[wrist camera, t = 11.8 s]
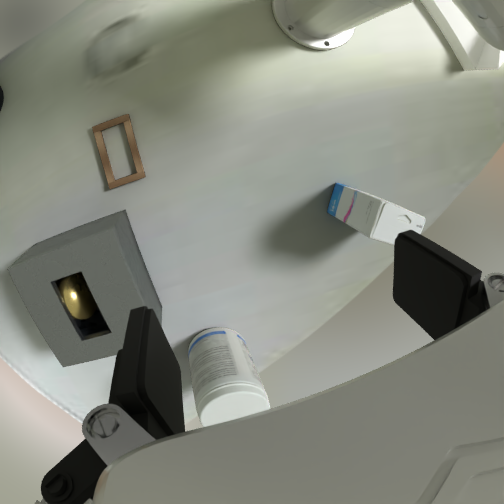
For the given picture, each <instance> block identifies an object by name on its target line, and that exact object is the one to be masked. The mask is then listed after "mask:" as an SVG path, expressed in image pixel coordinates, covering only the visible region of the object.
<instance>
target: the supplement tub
mask: <svg viewBox="0 0 504 504" xmlns="http://www.w3.org/2000/svg"><path fill="white" fill-rule="evenodd" d="M188 358H189V365H190V373H191V379H192V386H193V392H194V398H195V404H196V410H197V413H198V416H199V419H200V422H201V424H202V426H203V427H206V426H210V425H214V424H218V423H222V422H226V421H230V420H234V419H237V418H241V417H244V416H248V415H251V414H255V413H258V412H262V411H265V410H268V409H270V404H269V401H268V397H267V394H266V392H265V389H264V386H263V384H262V382H261V379H260V377H259V374H258V372H257V370H256V367H255V365H254V362H253V360H252V357H251V355H250V352H249V350H248V347H247V345H246V342H245V340H244V339H243V337H242V336H241V335H240V334H239V333H238V332H236V331H234V330H232V329H229V328H223V327H218V328H211V329H207V330H204V331H202V332H201V333H199V334H198V335H197V336H195V338H194V339H193V340H192V341H191V343H190V345H189V349H188Z"/></svg>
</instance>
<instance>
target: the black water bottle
mask: <svg viewBox="0 0 504 504" xmlns="http://www.w3.org/2000/svg"><path fill="white" fill-rule="evenodd" d="M3 99H4V97H3V90H2V88H1V86H0V111H1V108H2V105H3Z"/></svg>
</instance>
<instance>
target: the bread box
mask: <svg viewBox="0 0 504 504" xmlns="http://www.w3.org/2000/svg"><path fill="white" fill-rule="evenodd" d="M420 1H421V3H422V4H423V5H424V7H425V8H426V9H427V11H428V12H429V14H430V15H431V17H432V18H433V20H434V21H435V23H436V24H437V26H438V27H439V29H440V30H441V32H442V33H443V35H444V36H445V38H446V40H447V41H448V43H449V45H450V46H451V48H452V50H453V51H454V53H455V55H456V57H457V59H458V60H459V62H460V64H461V66H462V68H463V70H464V71H469V70H494V69H499V68H500V66H501V65H502V63H503V62H504V51H502V50H499V49H496V48H494V47H493V46H491V45H490V44H488V43H487V42H486V41H485V40H484V39H483V38H482V37H481V36H480V35H479V34H478V32H477V31H476V30H475V29H474V28H473V26H472V25H471V24H470V22H469V21H468V20H467V18H466V17H465V16H464V15H463V13H462V12H461V11H460V10H459V9H458V7H457V6H456V5H455V4H454V3H453V2H452V0H420Z"/></svg>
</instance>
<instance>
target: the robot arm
mask: <svg viewBox="0 0 504 504" xmlns="http://www.w3.org/2000/svg"><path fill="white" fill-rule="evenodd" d="M412 1H414V0H273V1H272V11H273V14H274V17H275V19H276V21H277V23H278V25H279V26H280V28H281V29H282V30H283V31H284V32H285V33H286V34H287V35H288V36H289V37H290V38H291V39H293V40H294V41H296V42H297V43H299V44H301V45H303V46H306V47H309V48H312V49H317V50H330V49H334V48H337V47H339V46H341V45H343V44H345V43H346V42H347V41H348V40H349V39H350V38H351V36H352V35H353V33H354V30H355V27H356V26H358V25H360V24H363V23H365V22H367V21H369V20H371V19H374V18H376V17H378V16H380V15H383V14H385V13H387V12H390V11H392V10H395V9H397V8H399V7H402V6H404V5H407V4H409V3H411V2H412ZM452 2H453V3H454V4H455V5H456V6H457V7H458V9H459V10H460V11H461V12H462V13H463V15H464V16H465V17H466V18H467V20H468V21H469V22H470V24H471V25H472V26H473V28H474V29H475V30H476V31H477V32H478V34H479V35H480V36H481V37H482V38H483V39H484V40H485V41H486V42H487V43H488V44H490V45H491V46H493V47H494V48H496V49H499V50H502V51H504V0H452ZM288 28H289V29H290V30H289V29H288ZM324 44H325V45H324ZM481 273H482V271H480V270H479V269H477V268H476V267H474V266H473V265H471V264H469V263H468V262H466V261H465V260H463V259H461V258H459V257H458V256H456V255H455V254H453V253H451V252H450V251H448V250H446V249H445V248H443V247H441V246H440V245H438V244H436V243H435V242H433V241H431V240H429V239H428V238H426V237H424V236H422V235H421V234H419V233H417V232H415V231H413V230H407V231H404V232H401V233H399V234H398V235H397V238H396V239H395V242H394V280H393V299H394V301H395V303H396V304H397V305H398V306H400V307H401V308H402V309H403V310H404V311H405V312H406V313H407V314H408V315H409V316H410V317H411V318H412V319H413V320H414V321H415V322H416V323H417V324H419V325H420V326H421V327H422V328H423V329H424V330H425V331H426V332H427V333H428V334H429V335H430V336H431V337H432V338H433V339H434V341H433V342H431V343H429V344H427V345H425V346H423V347H421V348H420V349H417V350H415V351H414V352H411V353H409V354H408V355H405V356H403V357H401V358H399V359H397V360H395V361H393V362H391V363H389V364H386V365H384V366H382V367H380V368H378V369H376V370H373V371H371V372H369V373H366V374H364V375H362V376H360V377H357V378H355V379H352V380H350V381H347V382H345V383H342V384H340V385H337V386H335V387H332V388H329V389H327V390H324V391H322V392H319V393H317V394H313V395H311V396H308V397H305V398H302V399H299V400H296V401H293V402H290V403H287V404H285V405H281V406H278V407H275V408H272V409H268V410H265V411H262V412H258V413H255V414H251V415H248V416H244V417H241V418H237V419H234V420H230V421H226V422H222V423H218V424H214V425H210V426H206V427H202V428H198V429H195V430H191V431H187V432H185V424H184V413H183V400H182V385H181V371H180V366H179V364H178V361H177V359H176V357H175V355H174V353H173V351H172V349H171V347H170V345H169V342H168V340H167V338H166V336H165V334H164V332H163V329H162V327H161V325H160V323H159V320H158V318H157V316H156V314H155V311H154V310H153V309H152V308H151V309H148V308H147V306H142V307H139V308H135V309H131V310H130V314H129V319H128V323H127V328H126V333H125V339H124V344H123V349H120V350H119V351H118V353H117V357H116V362H115V367H114V373H113V378H112V384H111V390H110V397H109V403H108V404H103V405H100V406H97V407H96V408H94V409H93V410H91V411H90V412H89V413H88V414H87V416H86V417H85V419H84V421H83V425H82V432H83V434H84V436H85V438H86V439H85V440H84V441H82V442H81V443H80V444H79V445H78V446H77V447H76V448H75V449H73V450H72V451H71V452H70V453H69V454H68V455H67V456H66V457H64V458H63V459H62V460H61V461H60V462H59V463H58V464H57V465H56V466H55V467H53V468H52V469H51V470H50V471H49V472H48V473H47V474H46V475H45V476H44V478H43V480H42V484H41V493H42V496H43V499H42V501H41V502H39V501H38V500H37V501H36V503H35V504H504V274H502V273H491V274H488V275H487V276H485V278H484V281H481V280H480V278H481Z"/></svg>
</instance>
